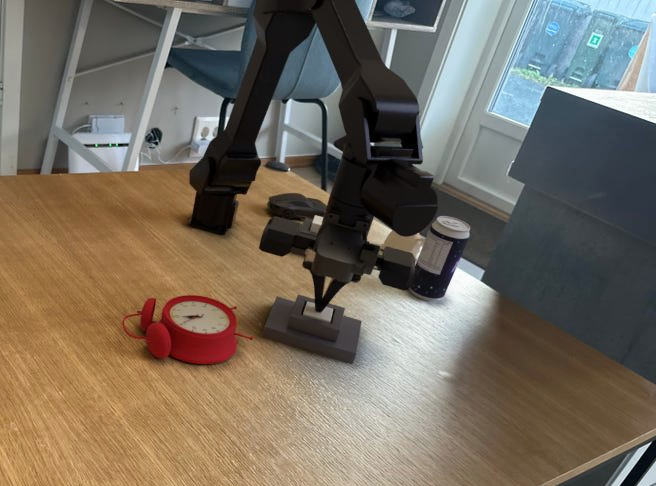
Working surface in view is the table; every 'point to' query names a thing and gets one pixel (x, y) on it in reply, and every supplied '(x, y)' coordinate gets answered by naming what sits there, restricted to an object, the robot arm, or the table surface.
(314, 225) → the back key
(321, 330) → the front keypad
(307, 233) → the back keypad
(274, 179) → the table surface
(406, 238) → the decorative ornament
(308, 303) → the front key
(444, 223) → the beverage can
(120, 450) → the table surface
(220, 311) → the alarm clock
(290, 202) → the toy car
